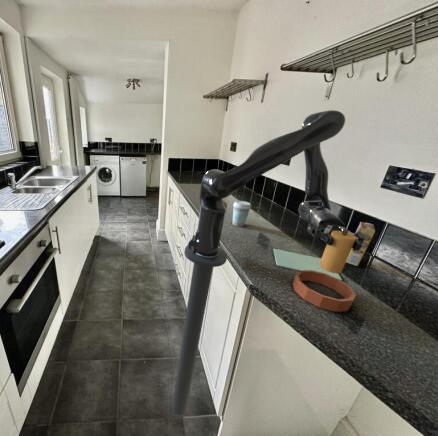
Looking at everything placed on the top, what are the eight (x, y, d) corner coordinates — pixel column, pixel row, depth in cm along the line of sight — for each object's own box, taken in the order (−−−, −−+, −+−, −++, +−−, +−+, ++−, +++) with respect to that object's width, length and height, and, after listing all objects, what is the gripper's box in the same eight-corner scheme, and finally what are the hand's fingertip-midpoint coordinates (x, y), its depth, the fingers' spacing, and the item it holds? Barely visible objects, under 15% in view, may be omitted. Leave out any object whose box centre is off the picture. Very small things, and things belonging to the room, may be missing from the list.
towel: (276, 265, 86) (277, 264, 85) (273, 249, 98) (273, 248, 98) (341, 280, 79) (342, 279, 79) (329, 261, 91) (329, 260, 91)
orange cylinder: (321, 270, 67) (337, 231, 62) (316, 261, 72) (331, 224, 67) (344, 275, 65) (361, 235, 60) (337, 265, 70) (353, 228, 65)
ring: (297, 301, 68) (301, 291, 66) (289, 275, 80) (293, 265, 79) (358, 318, 63) (364, 307, 61) (340, 287, 75) (344, 277, 74)
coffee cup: (226, 223, 122) (230, 202, 118) (234, 220, 127) (238, 199, 123) (241, 229, 116) (247, 206, 112) (249, 225, 122) (254, 203, 117)
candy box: (359, 267, 88) (375, 230, 82) (344, 262, 90) (360, 227, 85) (358, 258, 94) (374, 224, 89) (345, 254, 97) (359, 221, 91)
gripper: (305, 209, 78) (318, 226, 64) (357, 217, 74) (383, 238, 59) (298, 229, 81) (309, 250, 67) (348, 238, 76) (371, 263, 62)
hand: (344, 244), depth 63 cm, fingers closed on orange cylinder, 5 cm apart
